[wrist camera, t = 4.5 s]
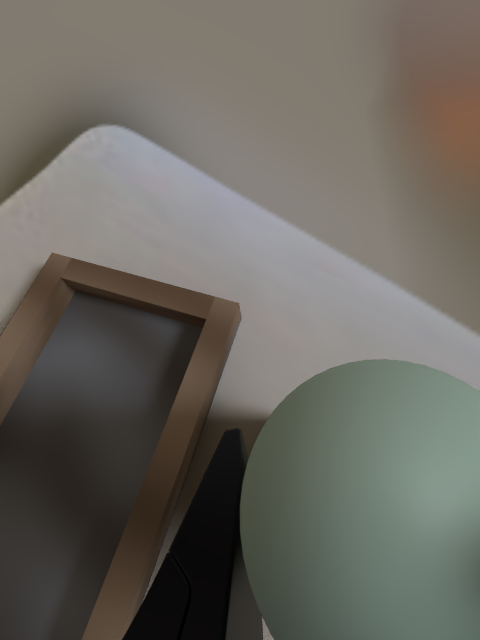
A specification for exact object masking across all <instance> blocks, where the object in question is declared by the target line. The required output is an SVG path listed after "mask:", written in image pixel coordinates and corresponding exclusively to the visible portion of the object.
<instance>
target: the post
mask: <svg viewBox="0 0 480 640" xmlns="http://www.w3.org/2000/svg"><path fill="white" fill-rule="evenodd" d="M240 534H241V543H242V551H243V558H244V562H245V566H246V571H247V575H248V579H249V583H250V586H251V589H252V591H253V594H254V597H255V600H256V603H257V606H258V608H259V610H260V613H261V615H262V617H263V619H264V621H265V623H266V625H267V627H268V629H269V631H270V633H271V635H272V637H273V638H274V640H480V391H479V390H477V389H475V388H474V387H472V386H470V385H469V384H467V383H465V382H464V381H462V380H460V379H458V378H455V377H453V376H451V375H449V374H447V373H445V372H442V371H439V370H436V369H433V368H430V367H427V366H424V365H420V364H415V363H411V362H406V361H397V360H386V359H384V360H364V361H357V362H351V363H347V364H343V365H340V366H337V367H333V368H331V369H328V370H326V371H324V372H322V373H320V374H317V375H315V376H314V377H312V378H310V379H309V380H307V381H306V382H304V383H303V384H301V385H300V386H298V387H297V388H296V389H295V390H294V391H292V392H291V393H290V394H289V395H288V396H287V397H286V398H285V399H284V400H283V401H282V402H281V403H280V404H279V405H278V406H277V408H276V409H275V410H274V411H273V413H272V414H271V415H270V417H269V418H268V420H267V421H266V423H265V424H264V426H263V427H262V429H261V431H260V433H259V435H258V437H257V439H256V441H255V443H254V446H253V448H252V451H251V454H250V457H249V460H248V462H247V466H246V471H245V475H244V479H243V484H242V492H241V502H240Z"/></svg>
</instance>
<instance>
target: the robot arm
mask: <svg viewBox="0 0 480 640" xmlns="http://www.w3.org/2000/svg"><path fill="white" fill-rule="evenodd" d="M247 462H248V458H247V453H246V448H245V444H244V440H243V435H242V431H241V429H240V428H235V429H230V430H226V431H225V432H224V434H223V436H222V438H221V440H220V443H219V445H218V447H217V449H216V451H215V453H214V455H213V457H212V459H211V462H210V464H209V466H208V468H207V470H206V472H205V474H204V476H203V479H202V481H201V483H200V485H199V487H198V489H197V491H196V493H195V496H194V498H193V500H192V502H191V504H190V506H189V508H188V510H187V512H186V515H185V517H184V519H183V521H182V523H181V525H180V527H179V529H178V532H177V534H176V536H175V538H174V540H173V542H172V544H171V546H170V549H169V553H167V554H166V557H165V559H164V561H163V563H162V565H161V567H160V569H159V572H158V574H157V576H156V578H155V580H154V582H153V583H152V585H151V587H150V589H149V591H148V593H147V595H146V597H145V599H144V601H143V603H142V605H141V607H140V608H139V610H138V612H137V614H136V615H135V617H134V619H133V621H132V623H131V624H130V626H129V628H128V630H127V631H126V633H125V635H124V637H123V638H122V640H263V628H262V615H261V613H260V610H259V608H258V606H257V603H256V600H255V597H254V594H253V591H252V589H251V586H250V583H249V579H248V575H247V571H246V566H245V562H244V558H243V551H242V543H241V534H240V502H241V492H242V484H243V479H244V475H245V471H246V466H247Z"/></svg>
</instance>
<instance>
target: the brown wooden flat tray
mask: <svg viewBox="0 0 480 640" xmlns="http://www.w3.org/2000/svg"><path fill="white" fill-rule="evenodd" d="M240 321H241V312H240V306H239V303H236V302H233V301H229V300H225V299H221V298H218V297H214V296H210V295H207V294H203V293H199V292H196V291H192V290H188V289H184V288H181V287H177V286H173V285H170V284H166V283H162V282H159V281H155V280H151V279H148V278H144V277H140V276H136V275H133V274H129V273H125V272H122V271H118V270H114V269H111V268H107V267H103V266H99V265H96V264H92V263H88V262H85V261H81V260H77V259H74V258H70V257H66V256H62V255H59V254H55V253H52V254H51V255H50V257H49V258H48V260H47V262H46V263H45V265H44V266H43V268H42V270H41V271H40V273H39V275H38V276H37V278H36V279H35V281H34V283H33V284H32V286H31V288H30V289H29V291H28V292H27V294H26V296H25V297H24V299H23V301H22V302H21V304H20V305H19V307H18V309H17V310H16V312H15V314H14V315H13V317H12V318H11V320H10V322H9V323H8V325H7V327H6V328H5V330H4V331H3V333H2V335H1V336H0V640H122V638H123V637H124V635H125V633H126V631H127V630H128V628H129V626H130V624H131V623H132V621H133V619H134V617H135V615H136V614H137V612H138V610H139V608H140V606H141V604H142V601H143V598H144V595H145V592H146V589H147V586H148V584H149V581H150V578H151V575H152V572H153V569H154V566H155V564H156V561H157V558H158V555H159V552H160V549H161V546H162V544H163V541H164V538H165V535H166V532H167V529H168V526H169V524H170V521H171V518H172V515H173V512H174V509H175V506H176V504H177V501H178V498H179V495H180V492H181V489H182V486H183V484H184V481H185V478H186V475H187V472H188V469H189V466H190V464H191V461H192V458H193V455H194V452H195V449H196V446H197V444H198V441H199V438H200V435H201V432H202V429H203V426H204V424H205V421H206V418H207V415H208V412H209V409H210V406H211V404H212V401H213V398H214V395H215V392H216V389H217V386H218V384H219V381H220V378H221V375H222V372H223V369H224V366H225V364H226V361H227V358H228V355H229V352H230V349H231V346H232V344H233V341H234V338H235V335H236V332H237V329H238V326H239V324H240Z"/></svg>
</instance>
